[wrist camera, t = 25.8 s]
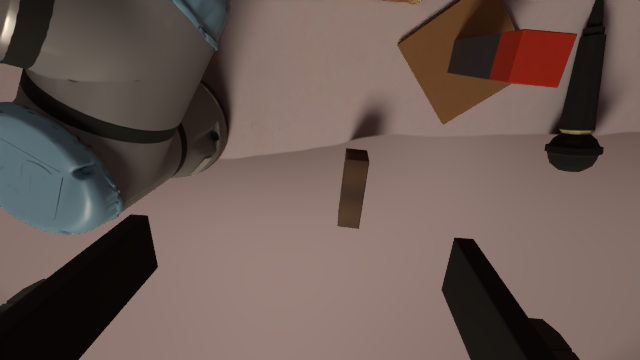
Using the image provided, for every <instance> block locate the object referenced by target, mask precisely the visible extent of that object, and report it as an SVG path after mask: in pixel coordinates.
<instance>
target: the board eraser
mask: <svg viewBox="0 0 640 360" xmlns="http://www.w3.org/2000/svg"><path fill="white" fill-rule="evenodd" d="M368 166H369V158H368V154H367V151H366V150H356V149H348V148H347V149H346V154H345V162H344V171H343V178H342V186H341V195H340V203H339V211H338V226H341V227H349V228H359V224H360V217H361V211H362V205H363V198H364V192H365V185H366V178H367V173H368Z"/></svg>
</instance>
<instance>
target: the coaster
mask: <svg viewBox="0 0 640 360" xmlns="http://www.w3.org/2000/svg"><path fill="white" fill-rule="evenodd" d="M510 31H516V30H515V28H514V26H513V24H512V21H511V19H510V17H509V15H508V12H507V10H506V8H505V6H504V3H503V1H502V0H460V1H458V2H457V3H455V4H454V5H453V6H451V7H450V8H448V9H447V10H446V11H444V12H443V13H441V14H440V15H438V16H437V17H436V18H434V19H433V20H431V21H430V22H429V23H427V24H426V25H424V26H423V27H422V28H420V29H419V30H417V31H416V32H414V33H413V34H412V35H410V36H409V37H407V38H406V39H405V40H403V41H402V42H400V43H399V44H398V47H399V49H400V51H401V52H402V54H403V56H404V58H405V59H406V61H407V63H408V65H409V66H410V68H411V70H412V72H413V73H414V75H415V77H416V79H417V81H418V82H419V84H420V86H421V88H422V89H423V91H424V93H425V95H426V96H427V98H428V100H429V102H430V103H431V105H432V107H433V109H434V111H435V112H436V114H437V116H438V118H439V119H440V121H441V123H442V124H445V123H447V122H448V121H450V120H452V119H453V118H455V117H457V116H458V115H460V114H462V113H463V112H465V111H467V110H468V109H470V108H472V107H473V106H475V105H477V104H478V103H480V102H482V101H483V100H485V99H487V98H488V97H490V96H492V95H493V94H495V93H497V92H498V91H500V90H502V89H503V88H505V87H507V86H508V85H510V84H512V83H505V82H499V81H493V80H487V79H481V78H475V77H469V76H463V75H457V74H451V73H447V71H448V67H449V63H450V58H451V54H452V50H453V45H454V41H455V40H458V39H464V38H471V37H477V36H483V35H490V34H496V33H503V32H510Z"/></svg>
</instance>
